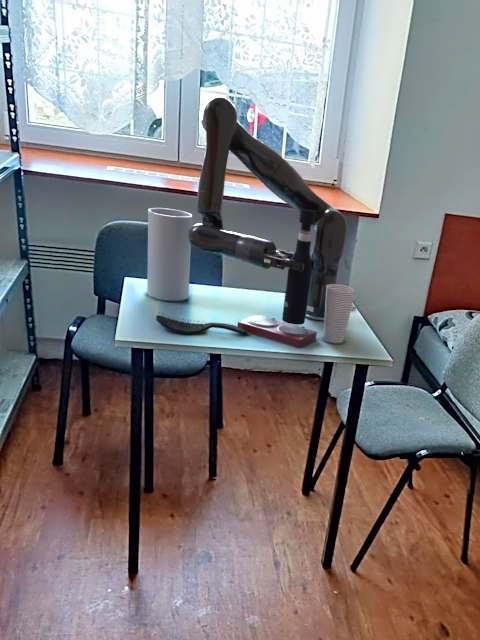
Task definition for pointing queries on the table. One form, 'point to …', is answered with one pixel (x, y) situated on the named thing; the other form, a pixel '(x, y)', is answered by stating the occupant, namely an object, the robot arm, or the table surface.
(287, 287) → the water bottle
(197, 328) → the hairbrush
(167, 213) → the cylinder vase
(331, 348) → the table surface
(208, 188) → the robot arm
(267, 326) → the hot plate
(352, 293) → the cup
